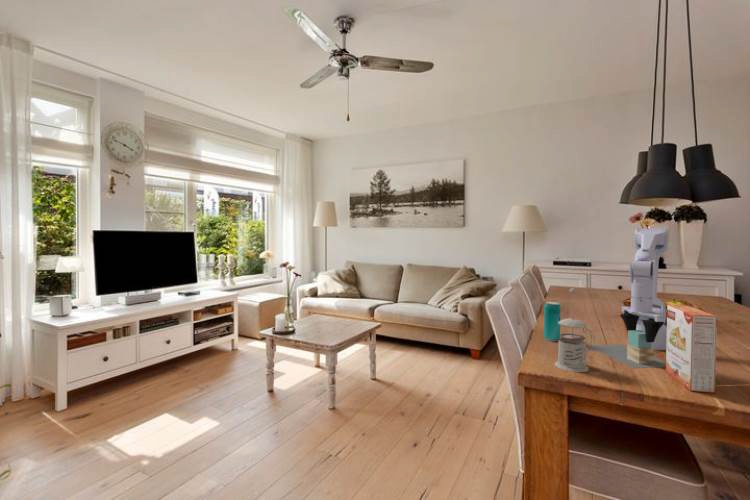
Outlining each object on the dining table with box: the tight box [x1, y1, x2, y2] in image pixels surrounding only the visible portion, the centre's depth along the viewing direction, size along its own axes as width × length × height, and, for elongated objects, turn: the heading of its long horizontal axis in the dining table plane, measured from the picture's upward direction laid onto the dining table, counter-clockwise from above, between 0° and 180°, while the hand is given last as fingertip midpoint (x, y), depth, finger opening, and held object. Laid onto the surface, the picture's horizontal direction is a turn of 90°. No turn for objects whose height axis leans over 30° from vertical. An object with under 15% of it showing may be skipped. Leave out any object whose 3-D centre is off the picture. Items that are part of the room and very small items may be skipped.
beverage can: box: [543, 301, 562, 342], centre depth 145 cm, size 6×6×15 cm
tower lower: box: [627, 351, 655, 364], centre depth 121 cm, size 5×5×2 cm
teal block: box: [627, 330, 651, 348], centre depth 121 cm, size 4×4×4 cm
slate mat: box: [586, 344, 666, 369], centre depth 126 cm, size 14×23×1 cm, turn 5°
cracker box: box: [665, 304, 718, 394], centre depth 103 cm, size 14×6×21 cm, turn 163°
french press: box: [554, 287, 596, 373], centre depth 116 cm, size 10×12×25 cm
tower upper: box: [626, 343, 655, 356], centre depth 121 cm, size 5×5×2 cm
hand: (640, 338), depth 120 cm, fingers open, 7 cm apart
